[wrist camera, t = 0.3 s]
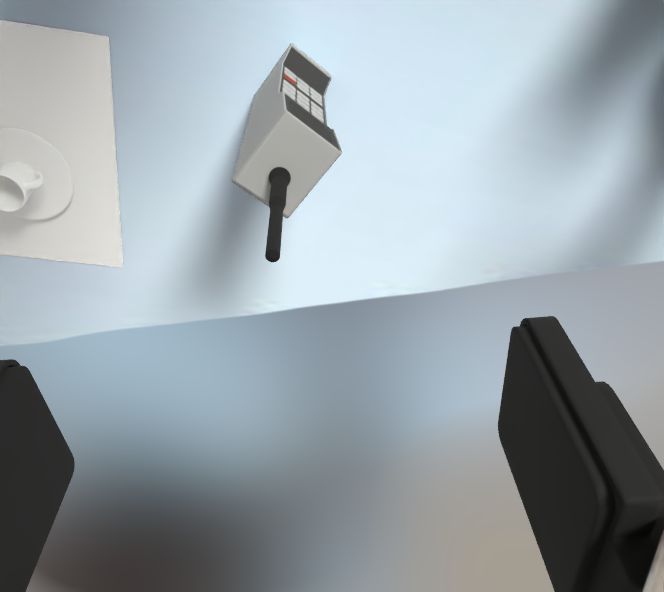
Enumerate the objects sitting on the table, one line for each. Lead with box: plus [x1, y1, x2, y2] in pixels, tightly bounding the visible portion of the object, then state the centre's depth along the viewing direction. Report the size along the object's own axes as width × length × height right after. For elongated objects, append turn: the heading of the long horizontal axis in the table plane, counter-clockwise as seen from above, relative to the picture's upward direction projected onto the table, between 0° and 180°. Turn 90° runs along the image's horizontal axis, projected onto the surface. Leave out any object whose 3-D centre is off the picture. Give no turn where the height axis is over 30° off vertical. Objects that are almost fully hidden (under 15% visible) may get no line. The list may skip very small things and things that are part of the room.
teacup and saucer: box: [0, 127, 75, 221], centre depth 45 cm, size 9×8×4 cm
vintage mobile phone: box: [232, 43, 342, 262], centre depth 33 cm, size 4×5×25 cm
